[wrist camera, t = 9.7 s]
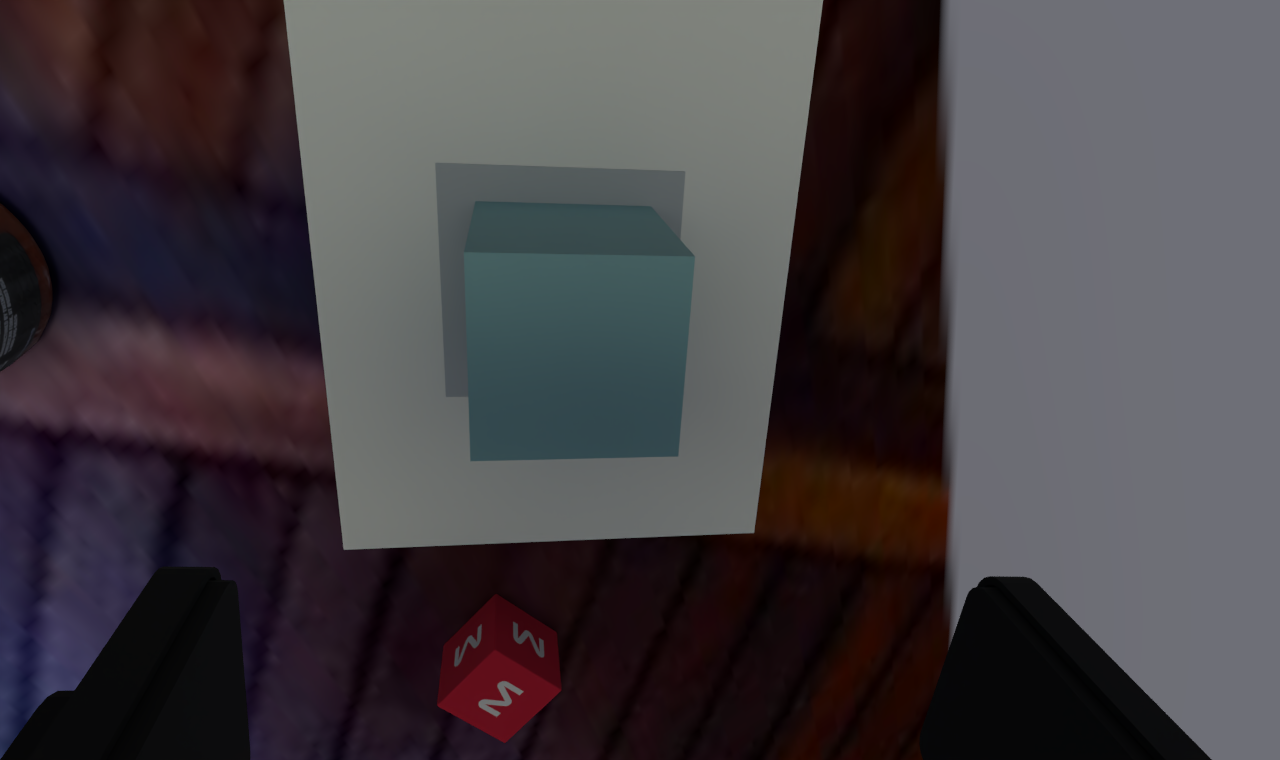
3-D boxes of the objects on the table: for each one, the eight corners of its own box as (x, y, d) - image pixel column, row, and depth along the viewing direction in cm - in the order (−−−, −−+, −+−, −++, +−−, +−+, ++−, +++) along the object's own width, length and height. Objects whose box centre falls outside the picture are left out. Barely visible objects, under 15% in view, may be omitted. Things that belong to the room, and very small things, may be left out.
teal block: (650, 206, 23) (695, 256, 17) (641, 365, 25) (678, 456, 19) (475, 201, 22) (463, 252, 17) (479, 366, 24) (470, 461, 18)
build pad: (746, 517, 29) (754, 534, 28) (349, 532, 27) (343, 551, 26) (814, -31, 22) (828, -34, 21) (286, -72, 20) (274, -78, 19)
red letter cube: (495, 592, 29) (494, 649, 26) (557, 631, 30) (561, 690, 27) (443, 644, 29) (436, 706, 26) (505, 681, 30) (504, 743, 28)
